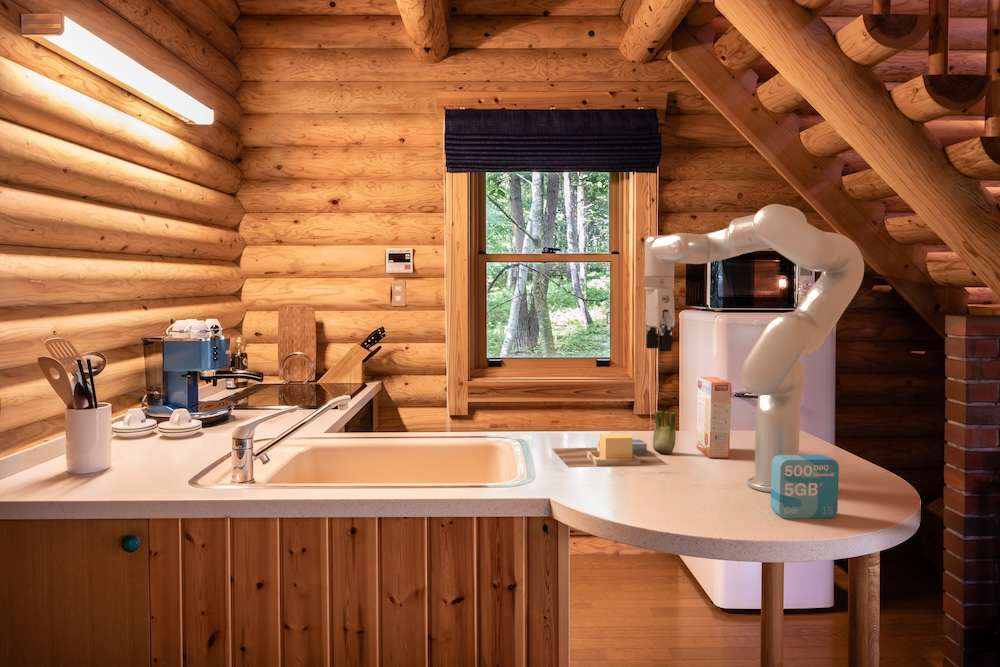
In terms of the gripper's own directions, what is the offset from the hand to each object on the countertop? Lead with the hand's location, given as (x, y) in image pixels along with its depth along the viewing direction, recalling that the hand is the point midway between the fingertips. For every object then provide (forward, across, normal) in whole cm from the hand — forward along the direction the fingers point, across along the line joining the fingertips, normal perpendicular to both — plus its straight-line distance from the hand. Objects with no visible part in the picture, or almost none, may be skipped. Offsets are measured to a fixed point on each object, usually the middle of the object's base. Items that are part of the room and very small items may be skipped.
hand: (658, 349), depth 192 cm
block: (+29, 0, +11) cm, 31 cm away
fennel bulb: (+30, +12, -6) cm, 33 cm away
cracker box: (+30, +11, -20) cm, 38 cm away
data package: (+31, -46, -15) cm, 57 cm away
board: (+30, +5, +12) cm, 33 cm away
